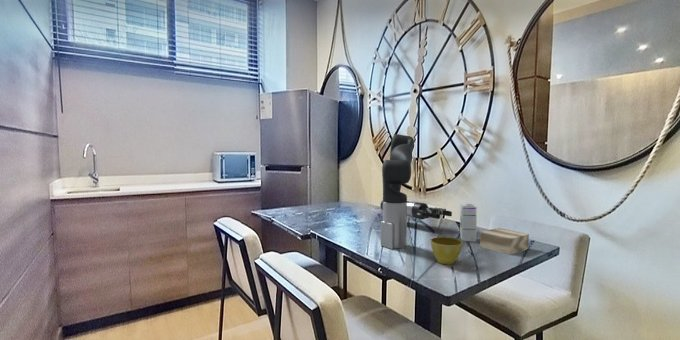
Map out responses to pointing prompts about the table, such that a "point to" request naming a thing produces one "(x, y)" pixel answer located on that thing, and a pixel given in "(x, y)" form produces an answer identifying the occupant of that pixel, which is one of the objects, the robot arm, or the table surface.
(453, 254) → the flower pot
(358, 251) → the table surface
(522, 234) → the birch block
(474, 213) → the syrup box
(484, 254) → the table surface
